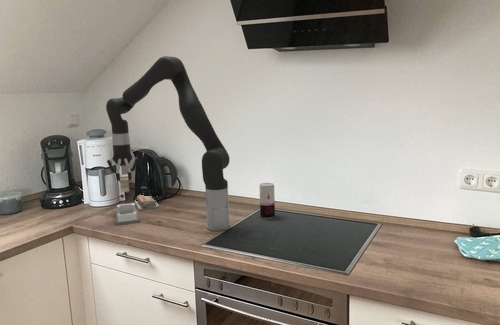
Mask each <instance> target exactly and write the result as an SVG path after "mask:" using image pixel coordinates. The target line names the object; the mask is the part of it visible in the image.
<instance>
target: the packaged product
mask: <svg viewBox="0 0 500 325" xmlns="http://www.w3.org/2000/svg"><path fill="white" fill-rule="evenodd" d="M152 197H153V196H152V195H151V196H144V195H141V194H138V195H137V197H136V199H135V200H134V203H135V206H136V207H137V210H138V211H145V210H151V209H152V210H153V209H159V208H160V205H159V203H158V202H157V201H156V199H155V198H154V197H153V198H154V199H155V200H154V199H153V198H152ZM136 200H138V201H136ZM155 201H156V202H155Z"/></svg>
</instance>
